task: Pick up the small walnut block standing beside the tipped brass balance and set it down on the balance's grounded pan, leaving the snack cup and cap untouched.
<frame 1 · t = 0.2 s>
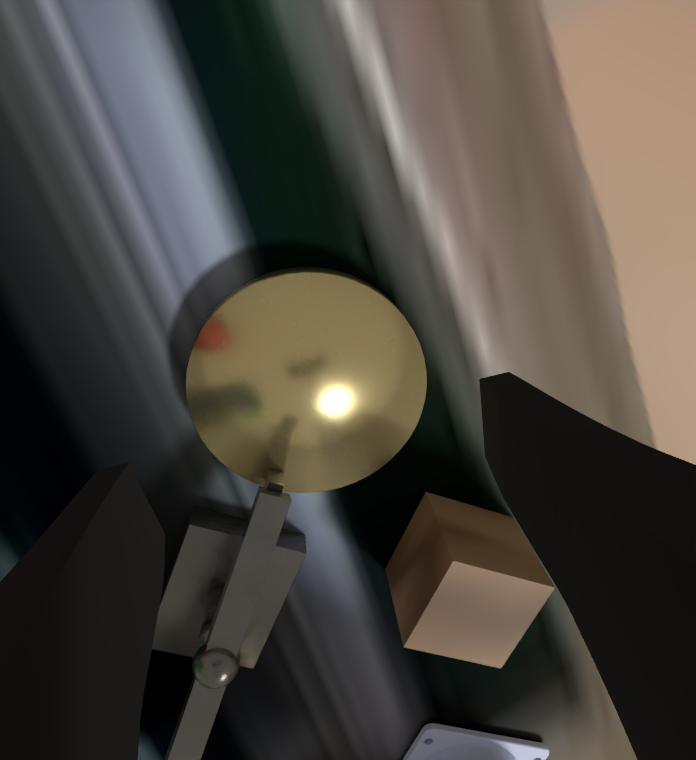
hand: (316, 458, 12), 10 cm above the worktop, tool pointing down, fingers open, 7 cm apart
block: (447, 542, 26), on the worktop
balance: (226, 581, 26), on the worktop
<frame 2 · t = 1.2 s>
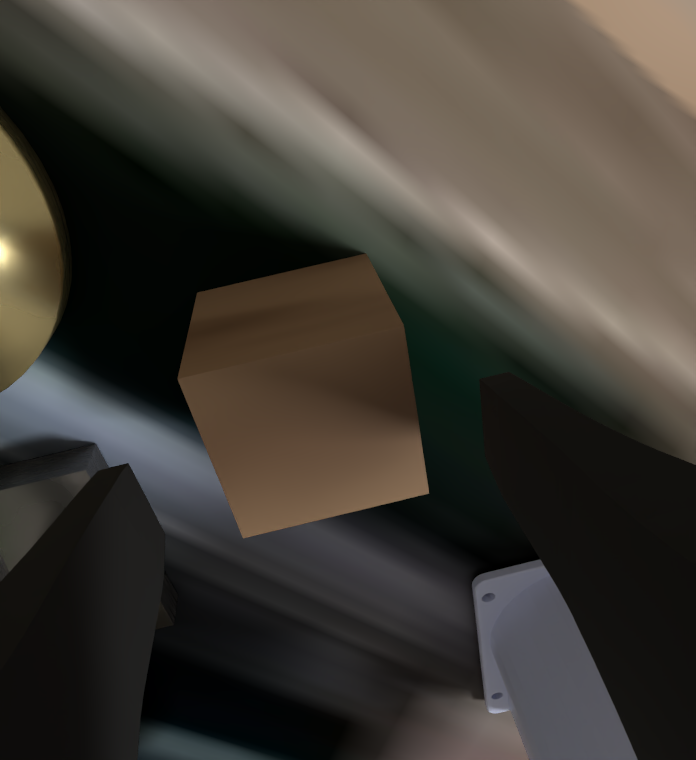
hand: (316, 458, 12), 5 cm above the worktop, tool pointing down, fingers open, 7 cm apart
block: (301, 346, 16), on the worktop
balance: (65, 545, 18), on the worktop
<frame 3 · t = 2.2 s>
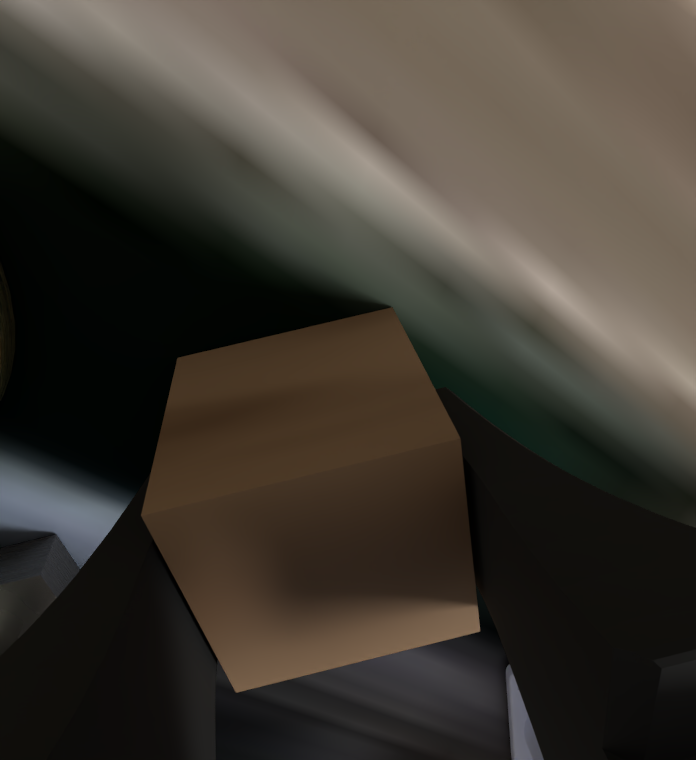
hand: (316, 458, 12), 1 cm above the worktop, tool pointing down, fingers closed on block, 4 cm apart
block: (309, 419, 13), on the worktop, touching gripper
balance: (23, 646, 15), on the worktop
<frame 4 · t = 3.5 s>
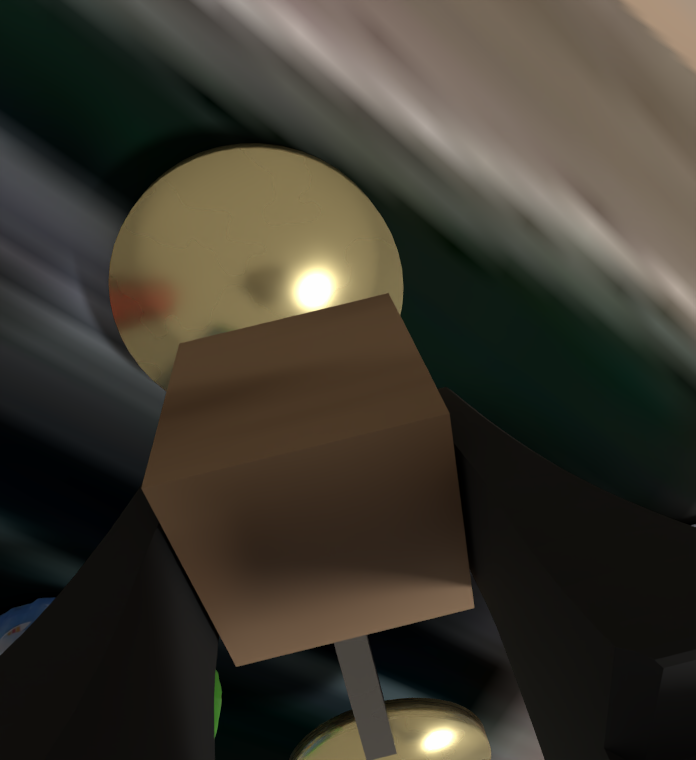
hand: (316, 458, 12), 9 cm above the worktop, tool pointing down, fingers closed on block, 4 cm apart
block: (309, 404, 13), point 7 cm above the worktop, touching gripper
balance: (327, 516, 24), on the worktop
snack cup: (70, 641, 26), on the worktop
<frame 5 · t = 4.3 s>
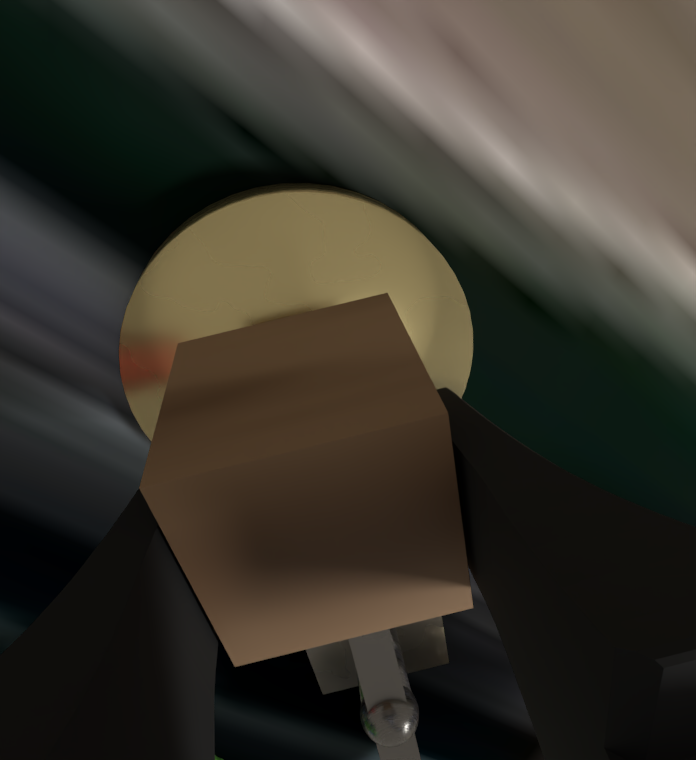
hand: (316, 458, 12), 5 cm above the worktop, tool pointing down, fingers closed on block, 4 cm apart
block: (307, 404, 13), point 3 cm above the worktop, touching gripper
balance: (365, 595, 21), on the worktop
when the fingers open (3 cm above the worktop, at t = 5.0 s): block stays where it is, resting on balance.
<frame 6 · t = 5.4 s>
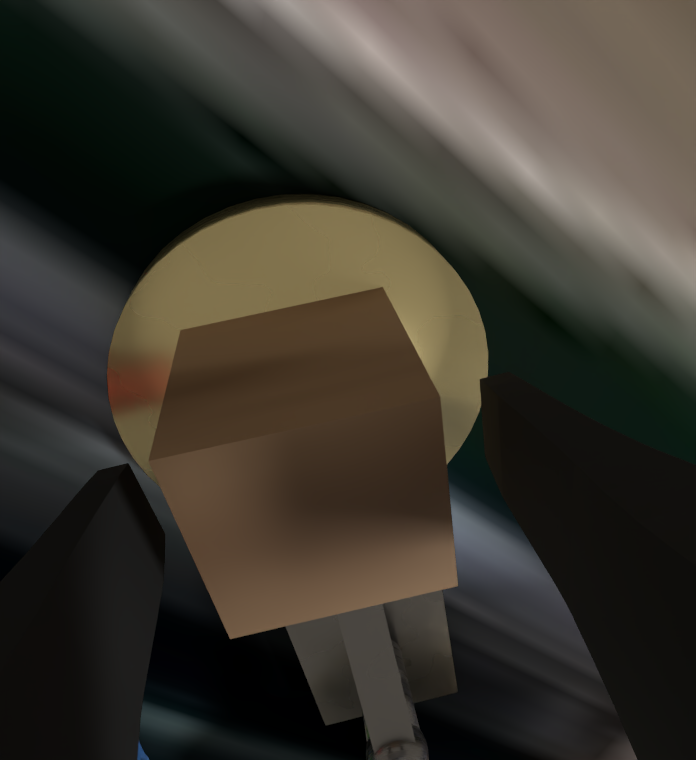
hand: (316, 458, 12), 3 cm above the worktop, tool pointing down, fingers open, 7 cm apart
block: (303, 392, 14), point 1 cm above the worktop, touching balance
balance: (370, 622, 20), on the worktop
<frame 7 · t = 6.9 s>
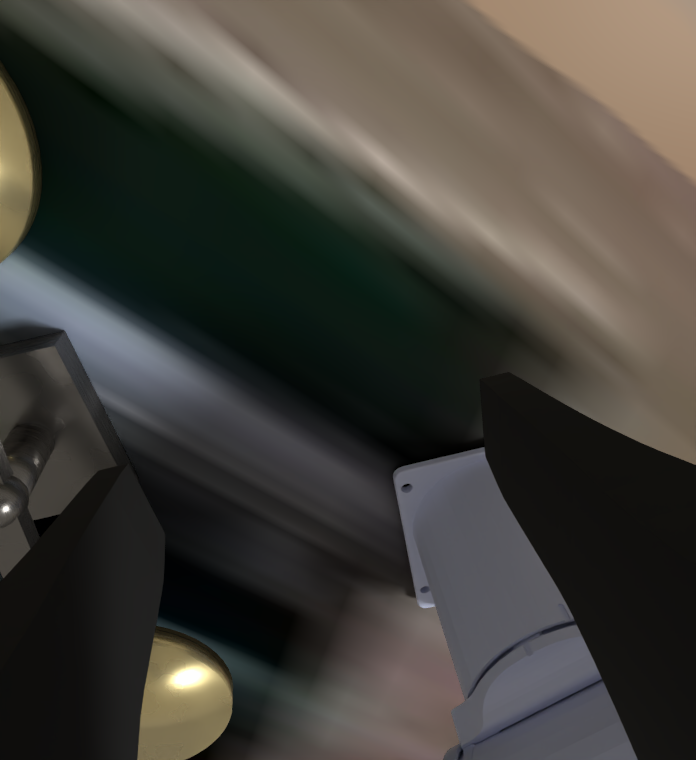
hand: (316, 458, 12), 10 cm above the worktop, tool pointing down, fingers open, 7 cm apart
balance: (41, 424, 22), on the worktop
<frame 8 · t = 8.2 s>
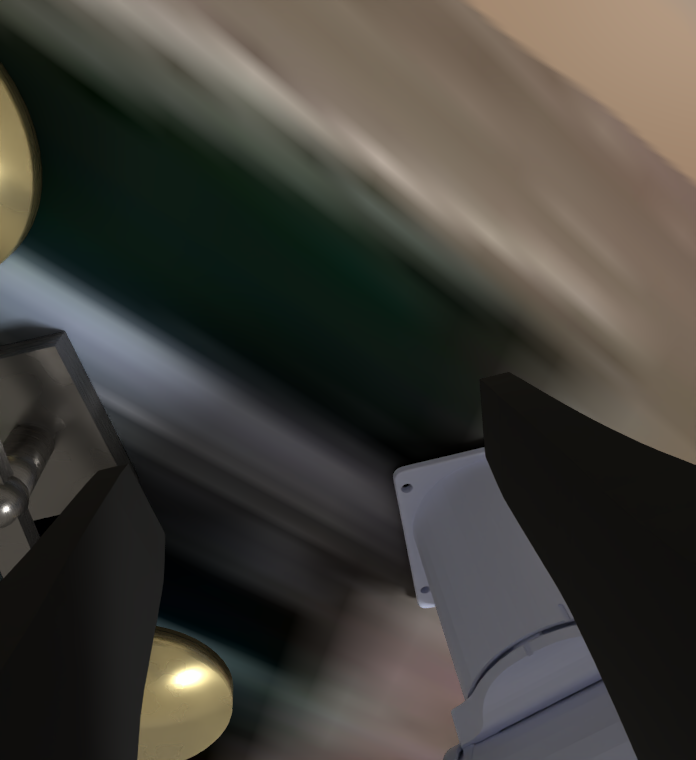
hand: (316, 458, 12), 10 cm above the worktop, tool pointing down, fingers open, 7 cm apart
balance: (41, 425, 22), on the worktop
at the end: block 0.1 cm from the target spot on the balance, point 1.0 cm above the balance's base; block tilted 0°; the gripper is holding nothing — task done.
